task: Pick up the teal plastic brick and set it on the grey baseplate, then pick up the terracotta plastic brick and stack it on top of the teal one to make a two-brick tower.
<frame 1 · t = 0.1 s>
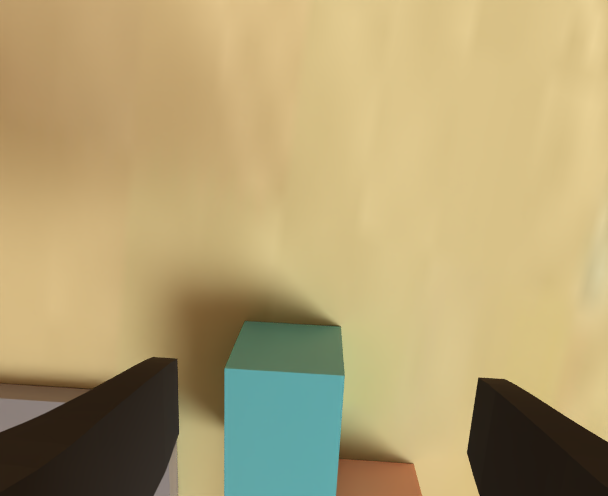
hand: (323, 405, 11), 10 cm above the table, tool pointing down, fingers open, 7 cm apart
teal brick: (290, 381, 22), on the table
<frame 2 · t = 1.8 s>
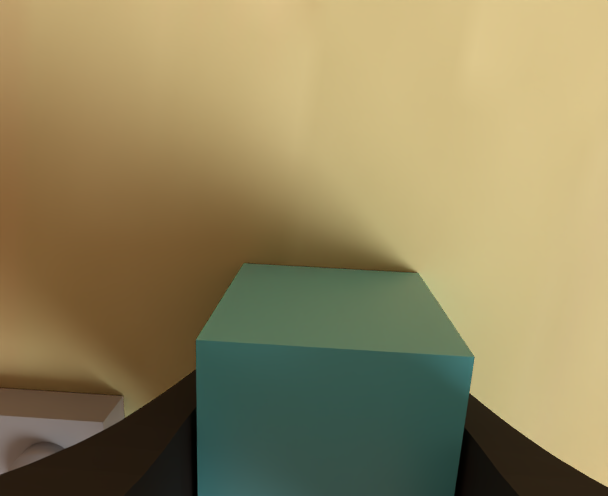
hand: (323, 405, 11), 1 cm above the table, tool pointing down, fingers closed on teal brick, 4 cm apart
teal brick: (323, 375, 12), on the table, touching gripper
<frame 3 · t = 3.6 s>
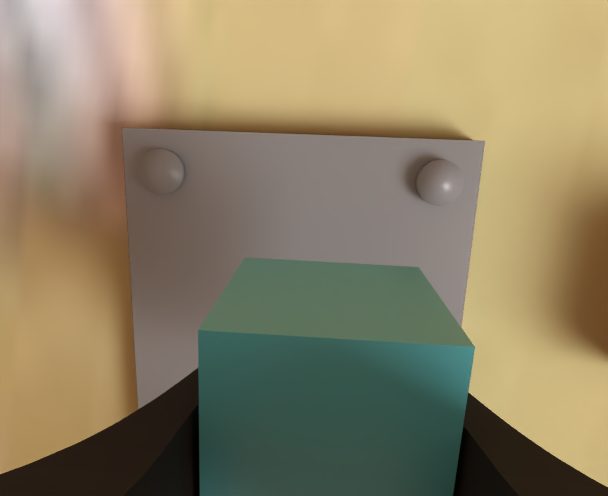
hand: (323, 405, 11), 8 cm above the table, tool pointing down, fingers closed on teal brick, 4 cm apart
teal brick: (324, 369, 12), point 7 cm above the table, touching gripper
baseplate: (296, 306, 19), on the table
when the fingers open (4 cm above the table, at t = 5.1 s): teal brick stays where it is, resting on baseplate.
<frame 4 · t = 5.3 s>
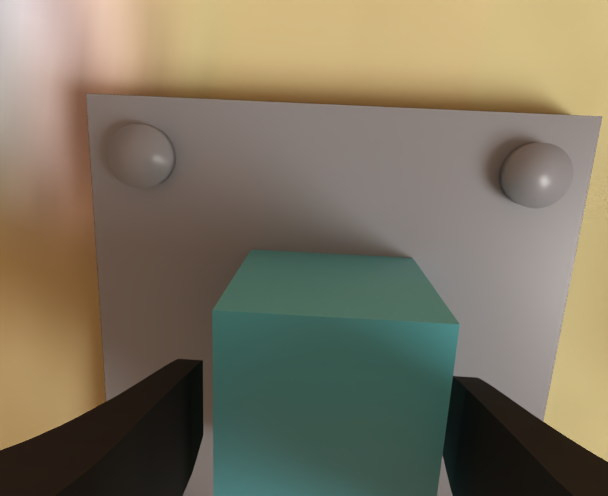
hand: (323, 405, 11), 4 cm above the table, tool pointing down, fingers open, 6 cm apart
teal brick: (325, 354, 13), point 1 cm above the table, touching baseplate
baseplate: (324, 340, 15), on the table
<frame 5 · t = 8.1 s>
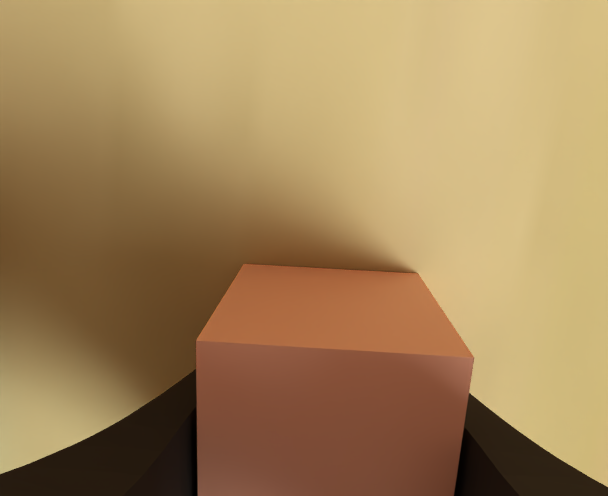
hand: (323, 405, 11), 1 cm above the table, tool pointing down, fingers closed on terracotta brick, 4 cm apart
terracotta brick: (323, 375, 12), on the table, touching gripper
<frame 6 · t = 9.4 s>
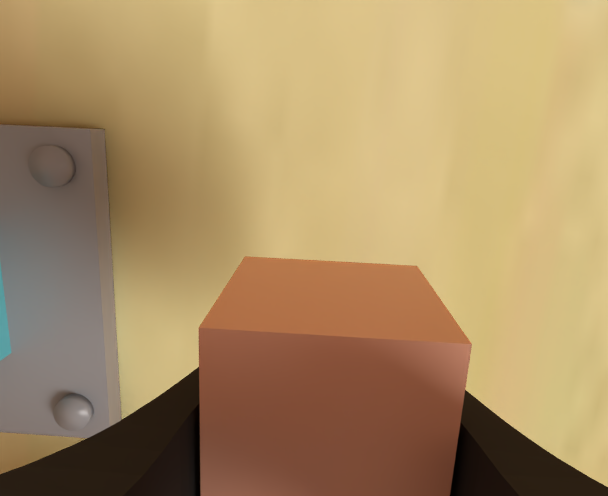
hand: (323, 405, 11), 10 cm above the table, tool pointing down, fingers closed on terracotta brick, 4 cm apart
terracotta brick: (324, 367, 13), point 8 cm above the table, touching gripper
when the fingers open (8 cm above the table, at t = 11.4 s): terracotta brick stays where it is, resting on teal brick.
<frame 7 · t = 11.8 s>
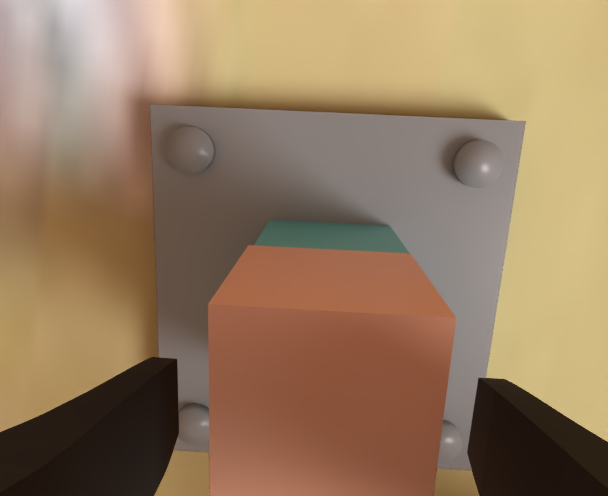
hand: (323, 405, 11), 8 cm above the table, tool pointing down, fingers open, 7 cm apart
teal brick: (325, 299, 18), point 1 cm above the table, touching baseplate, terracotta brick
terracotta brick: (323, 350, 13), point 6 cm above the table, touching teal brick
baseplate: (324, 292, 19), on the table
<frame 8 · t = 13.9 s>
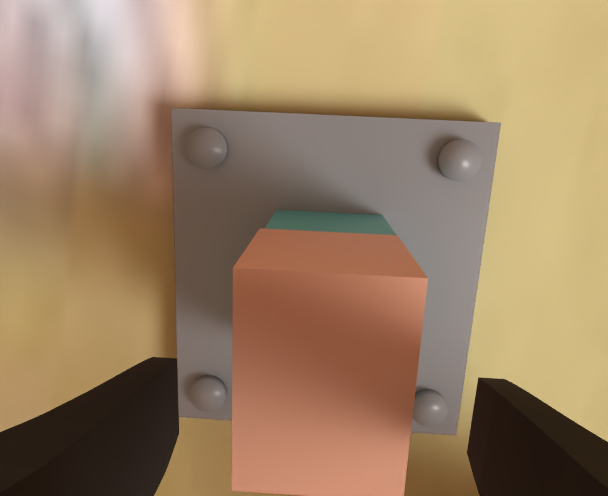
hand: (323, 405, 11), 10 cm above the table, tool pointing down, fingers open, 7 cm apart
teal brick: (325, 281, 20), point 1 cm above the table, touching baseplate, terracotta brick
terracotta brick: (323, 319, 16), point 6 cm above the table, touching teal brick
baseplate: (324, 275, 21), on the table
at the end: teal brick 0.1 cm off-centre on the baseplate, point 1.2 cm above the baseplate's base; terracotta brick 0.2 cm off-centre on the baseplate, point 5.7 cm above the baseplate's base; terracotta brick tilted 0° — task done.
